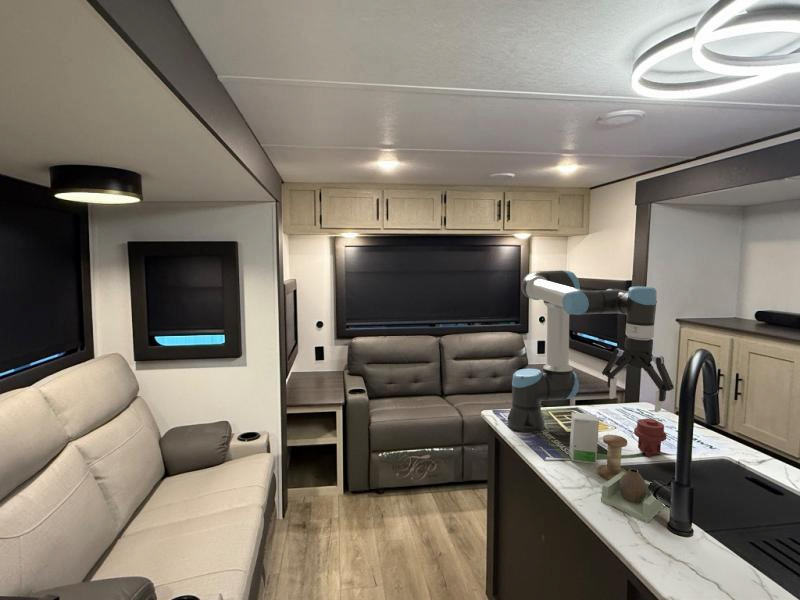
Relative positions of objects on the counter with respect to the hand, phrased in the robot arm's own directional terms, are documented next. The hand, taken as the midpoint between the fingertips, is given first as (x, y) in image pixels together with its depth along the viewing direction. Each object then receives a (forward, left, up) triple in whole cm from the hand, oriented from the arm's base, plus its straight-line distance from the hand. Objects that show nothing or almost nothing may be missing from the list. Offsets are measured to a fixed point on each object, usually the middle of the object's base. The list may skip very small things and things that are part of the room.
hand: (634, 404), depth 133 cm
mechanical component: (-4, +24, -25) cm, 35 cm away
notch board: (+6, -12, -25) cm, 28 cm away
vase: (+6, -12, -24) cm, 28 cm away
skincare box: (-17, +2, -25) cm, 31 cm away
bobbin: (-5, -1, -25) cm, 26 cm away
